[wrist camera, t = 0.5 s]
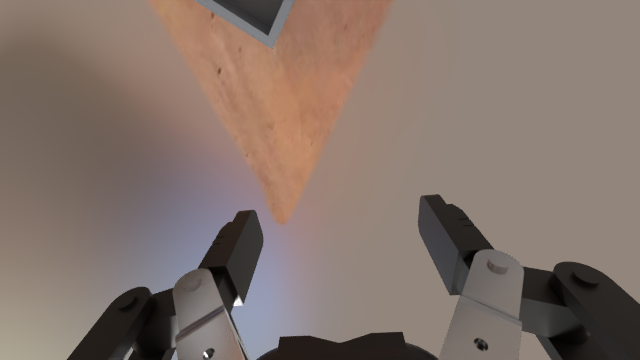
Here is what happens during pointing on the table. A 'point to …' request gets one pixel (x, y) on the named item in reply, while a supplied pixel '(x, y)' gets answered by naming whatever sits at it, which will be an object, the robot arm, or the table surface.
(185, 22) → the table surface
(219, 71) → the table surface
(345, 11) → the table surface
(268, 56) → the table surface
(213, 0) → the tray
